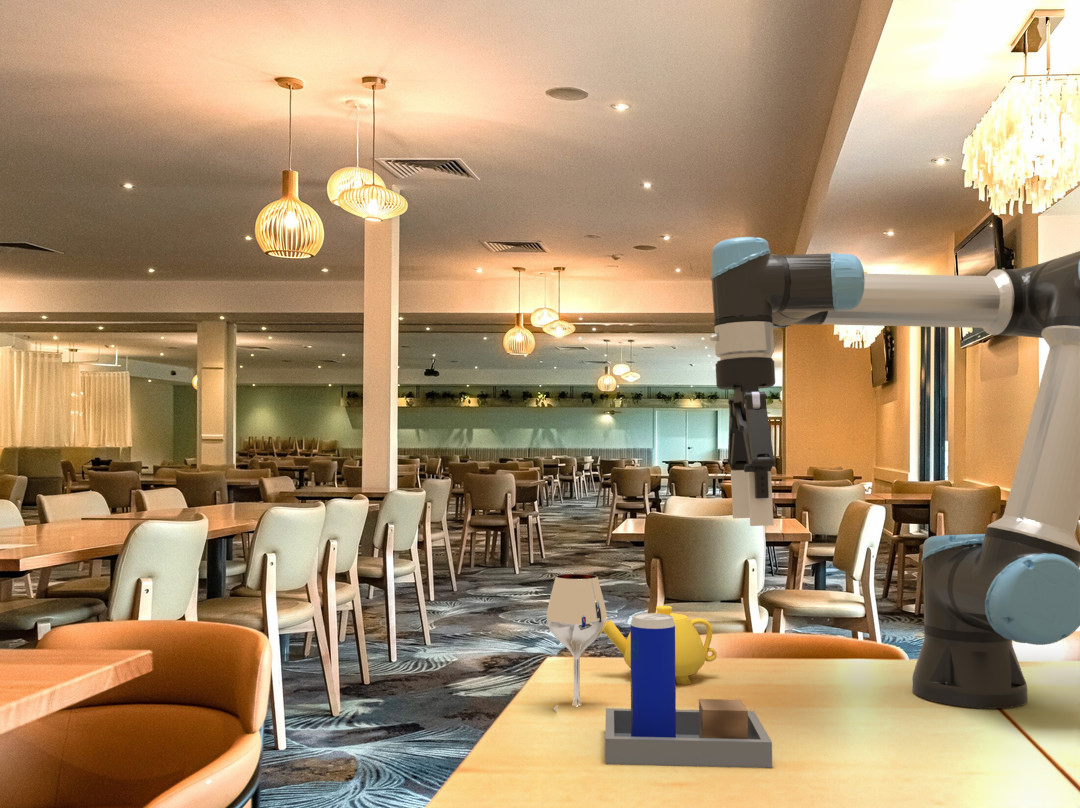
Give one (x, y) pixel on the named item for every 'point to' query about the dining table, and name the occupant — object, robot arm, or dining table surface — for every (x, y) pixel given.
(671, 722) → the beverage can
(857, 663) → the dining table surface
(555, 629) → the wineglass
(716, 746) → the tray
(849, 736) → the dining table surface
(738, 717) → the walnut block
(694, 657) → the teapot
